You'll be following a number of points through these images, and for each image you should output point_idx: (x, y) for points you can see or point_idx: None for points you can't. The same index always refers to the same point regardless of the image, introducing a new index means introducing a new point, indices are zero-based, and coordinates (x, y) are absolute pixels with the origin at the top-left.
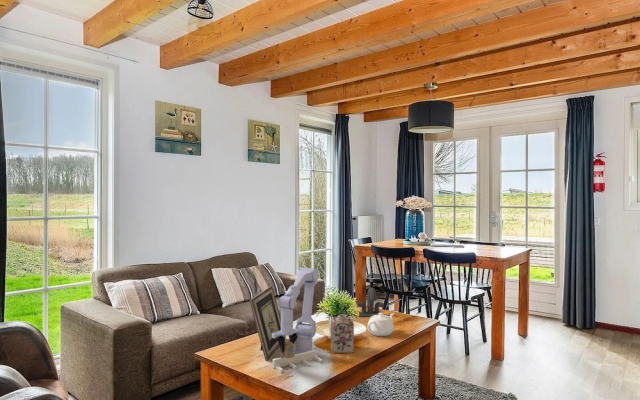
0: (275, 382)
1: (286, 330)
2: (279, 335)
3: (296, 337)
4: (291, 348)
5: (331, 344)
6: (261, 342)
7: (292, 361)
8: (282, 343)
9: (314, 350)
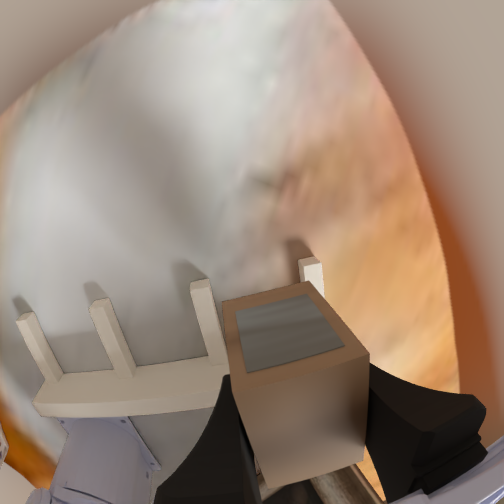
0: (383, 132)
1: None
2: (469, 478)
3: (181, 489)
4: (272, 344)
5: (1, 443)
6: (372, 491)
7: (199, 368)
8: (413, 392)
9: (47, 411)
